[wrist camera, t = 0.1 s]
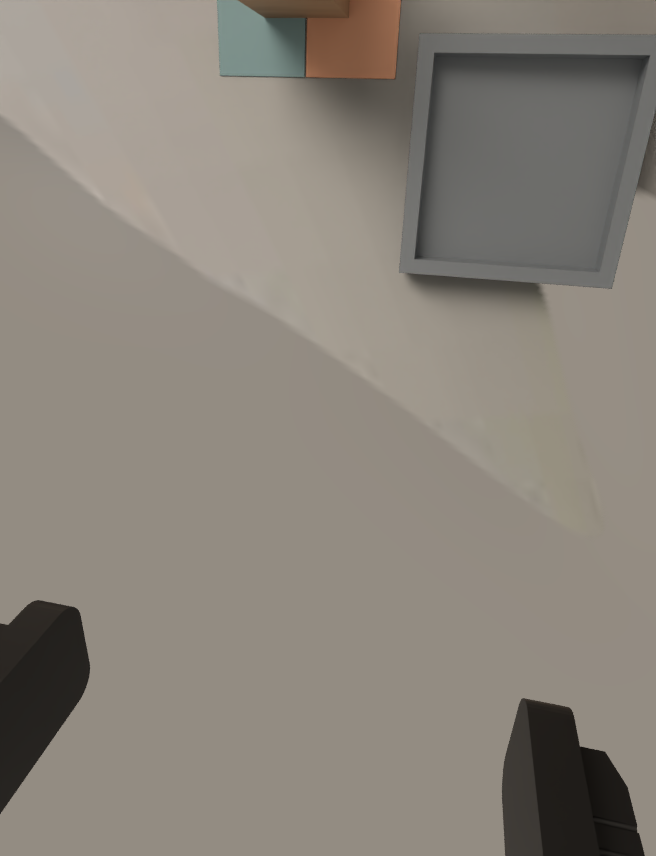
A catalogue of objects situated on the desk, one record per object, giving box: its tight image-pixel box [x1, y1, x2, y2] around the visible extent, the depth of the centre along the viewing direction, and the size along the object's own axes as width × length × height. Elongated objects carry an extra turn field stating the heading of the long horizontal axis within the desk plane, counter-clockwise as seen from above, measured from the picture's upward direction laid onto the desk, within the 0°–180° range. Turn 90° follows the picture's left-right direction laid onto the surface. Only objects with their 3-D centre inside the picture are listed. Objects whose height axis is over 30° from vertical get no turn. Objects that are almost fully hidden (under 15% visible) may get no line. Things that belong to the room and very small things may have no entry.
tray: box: [399, 33, 656, 289], centre depth 31 cm, size 12×12×2 cm
